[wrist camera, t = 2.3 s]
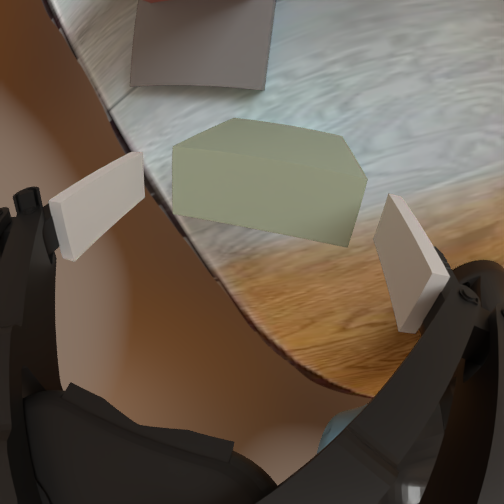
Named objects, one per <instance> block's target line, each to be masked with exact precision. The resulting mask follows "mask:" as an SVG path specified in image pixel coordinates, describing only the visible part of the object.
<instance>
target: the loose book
mask: <svg viewBox="0 0 504 504" xmlns="http://www.w3.org/2000/svg"><path fill="white" fill-rule="evenodd" d="M367 180H368V179H367V177H366V175H365V174H364V172H363V170H362V168H361V167H360V165H359V163H358V162H357V160H356V158H355V156H354V155H353V153H352V151H351V150H350V148H349V147H348V145H347V143H346V142H345V140H344V139H343V137H342V136H339V135H335V134H330V133H326V132H321V131H316V130H311V129H306V128H300V127H295V126H289V125H283V124H277V123H270V122H263V121H256V120H248V119H240V118H233V119H230V120H228V121H226V122H223V123H221V124H219V125H217V126H214V127H212V128H210V129H208V130H206V131H203V132H201V133H199V134H197V135H195V136H193V137H191V138H189V139H187V140H185V141H183V142H181V143H179V144H177V145H175V146H173V156H172V202H173V214H176V215H181V216H187V217H193V218H198V219H204V220H209V221H215V222H220V223H226V224H231V225H236V226H242V227H247V228H252V229H258V230H263V231H268V232H273V233H278V234H283V235H288V236H293V237H298V238H303V239H308V240H313V241H318V242H323V243H328V244H332V245H337V246H342V247H347V248H348V245H349V242H350V238H351V235H352V232H353V229H354V226H355V222H356V219H357V216H358V212H359V209H360V205H361V202H362V198H363V195H364V191H365V187H366V184H367Z"/></svg>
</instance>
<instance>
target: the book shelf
mask: <svg viewBox="0 0 504 504" xmlns="http://www.w3.org/2000/svg"><path fill="white" fill-rule="evenodd" d="M275 5H276V0H139V1H138V7H137V14H136V21H135V30H134V39H133V49H132V61H131V77H130V87H133V86H154V85H198V86H220V87H234V88H245V89H255V90H265V82H266V74H267V66H268V58H269V50H270V43H271V35H272V27H273V20H274V12H275Z"/></svg>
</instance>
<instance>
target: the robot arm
mask: <svg viewBox="0 0 504 504" xmlns="http://www.w3.org/2000/svg"><path fill="white" fill-rule="evenodd" d="M144 198H145V191H144V171H143V152H130V153H128V154H126V155H125V156H122V157H121V158H119V159H117V160H115V161H113V162H111V163H109V164H108V165H106V166H104V167H102V168H100V169H99V170H97V171H95V172H94V173H92V174H90V175H88V176H87V177H85V178H83V179H82V180H80V181H79V182H77V183H75V184H74V185H72V186H70V187H69V188H67V189H66V190H64V191H62V192H61V193H59V194H58V195H57V196H55V197H53V198H52V199H50V200H49V201H48V202H49V203H48V204H47V205H46V206H44V207H43V206H42V201H41V196H40V191H39V188H38V187H29V188H26V189H23V190H21V191H19V192H17V193H16V194H15V195H14V196H13V200H14V204H15V208H16V212H17V216H16V217H11V215H10V212H9V208H7V207H3V208H0V504H504V268H503V267H502V266H501V265H499V264H498V263H496V262H493V261H489V260H480V261H474V262H470V263H467V264H465V265H462V266H460V267H458V268H457V269H455V270H453V271H452V269H450V268H451V267H450V266H449V264H448V263H447V260H446V259H445V257H444V255H443V254H442V253H441V252H440V251H439V250H438V249H437V248H436V247H434V246H433V245H432V243H431V242H430V240H429V238H428V237H427V235H426V233H425V232H424V230H423V228H422V227H421V225H420V224H419V222H418V220H417V219H416V217H415V216H414V214H413V213H412V211H411V210H410V208H409V207H408V205H407V204H406V202H405V201H404V199H403V198H402V197H400V196H397V195H393V194H388V197H387V200H386V203H385V206H384V210H383V213H382V216H381V219H380V222H379V225H378V227H377V230H376V233H375V236H374V239H373V240H374V243H375V246H376V249H377V252H378V255H379V259H380V262H381V265H382V269H383V272H384V276H385V279H386V283H387V286H388V290H389V294H390V298H391V302H392V306H393V310H394V314H395V318H396V322H397V327H398V331H399V332H405V333H413V334H416V332H417V331H418V329H420V333H421V338H420V339H419V340H418V342H417V343H416V345H415V346H414V347H413V349H412V350H411V352H410V353H409V354H408V356H407V357H406V358H405V360H404V361H403V362H402V364H401V365H400V366H399V368H398V369H397V370H396V371H395V373H394V374H393V375H392V376H391V378H390V379H389V380H388V381H387V382H386V384H385V385H384V386H383V387H382V388H381V390H380V391H379V392H378V393H377V394H376V395H375V397H374V398H373V399H372V400H371V401H370V402H369V403H367V404H366V405H365V406H361V407H358V408H354V409H350V410H346V411H343V412H340V413H338V414H337V415H335V416H334V417H333V418H332V419H331V420H330V422H329V423H328V425H327V426H326V428H325V430H324V432H323V435H322V438H321V440H320V443H319V447H318V451H317V455H315V456H314V458H312V459H311V460H310V461H309V462H307V463H306V464H305V465H304V466H303V467H301V468H300V469H299V470H298V471H296V472H295V473H294V474H292V475H291V476H290V477H289V478H287V479H286V480H285V481H284V482H282V483H281V484H279V485H278V486H277V484H276V483H275V482H274V481H273V480H272V478H271V477H270V476H269V475H268V474H267V473H266V472H265V471H264V470H263V469H262V468H261V467H259V466H258V465H257V464H255V463H254V462H253V461H251V460H250V459H248V458H246V457H245V456H243V455H241V454H239V453H237V452H235V451H233V446H234V442H233V441H228V440H224V439H219V438H215V437H211V436H208V435H204V434H200V433H197V432H193V431H190V430H181V429H169V428H159V427H149V426H143V425H139V424H137V423H135V422H133V421H132V420H131V419H129V418H128V417H126V416H125V415H124V414H123V413H121V412H120V411H119V410H117V409H116V408H115V407H113V406H112V405H111V404H110V403H108V402H107V401H106V400H105V399H103V398H102V397H99V396H97V395H95V394H93V393H91V392H89V391H87V390H85V389H83V388H81V387H79V386H77V385H75V384H73V383H70V384H69V386H68V387H67V389H66V391H63V389H62V386H61V383H60V376H59V368H58V358H57V346H56V330H55V276H56V255H55V252H54V251H55V250H56V249H57V248H58V247H60V251H61V254H62V257H63V258H64V259H67V260H71V261H74V262H75V261H76V260H77V259H78V258H79V257H80V256H81V255H82V254H83V253H84V252H85V251H86V250H87V249H88V248H89V247H90V246H91V245H92V244H93V243H94V242H95V241H96V240H97V239H98V238H100V237H101V236H102V235H103V234H104V233H105V232H106V231H107V230H108V229H109V228H110V227H111V226H113V224H115V223H116V222H117V221H118V220H119V219H120V218H121V217H123V215H125V214H126V213H127V212H128V211H130V210H131V209H132V208H133V207H134V206H135V205H136V204H138V202H140V201H141V200H142V199H144Z"/></svg>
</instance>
